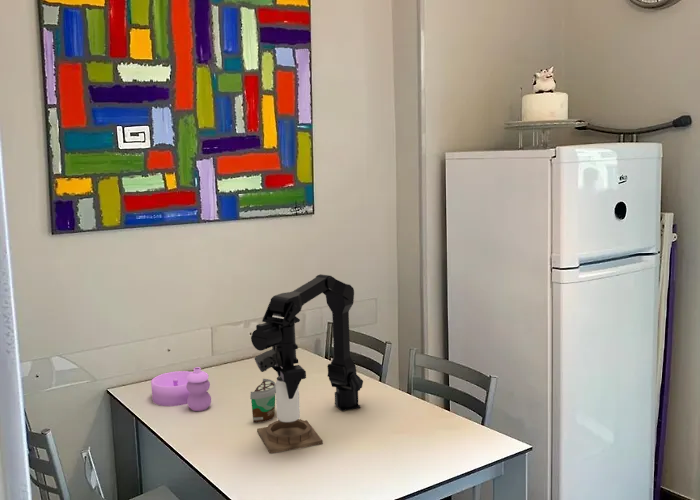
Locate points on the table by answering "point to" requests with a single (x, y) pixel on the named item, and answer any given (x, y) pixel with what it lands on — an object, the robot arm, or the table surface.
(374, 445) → the table surface
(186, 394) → the container set
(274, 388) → the food container
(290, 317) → the robot arm
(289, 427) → the brown ring stand base
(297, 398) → the can
